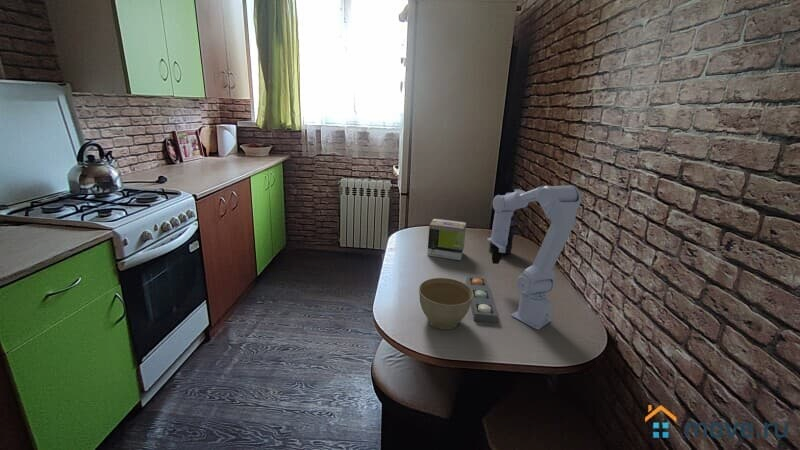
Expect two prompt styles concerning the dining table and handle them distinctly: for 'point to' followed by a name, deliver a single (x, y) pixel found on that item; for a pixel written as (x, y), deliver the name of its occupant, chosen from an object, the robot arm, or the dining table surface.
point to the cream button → (484, 308)
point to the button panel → (482, 301)
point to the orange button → (477, 281)
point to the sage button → (480, 294)
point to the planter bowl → (445, 301)
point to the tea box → (446, 239)
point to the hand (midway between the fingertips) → (495, 263)
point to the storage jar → (510, 238)
